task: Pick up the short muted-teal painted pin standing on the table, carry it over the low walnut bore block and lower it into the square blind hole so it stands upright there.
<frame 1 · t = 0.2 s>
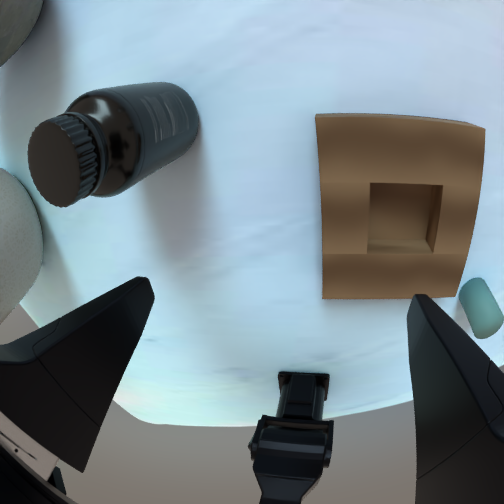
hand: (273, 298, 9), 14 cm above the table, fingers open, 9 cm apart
pin: (472, 291, 22), on the table
supplement bottle: (164, 121, 21), on the table
planter: (19, 214, 32), on the table
bowl: (32, 11, 15), on the table
bore block: (396, 204, 20), on the table
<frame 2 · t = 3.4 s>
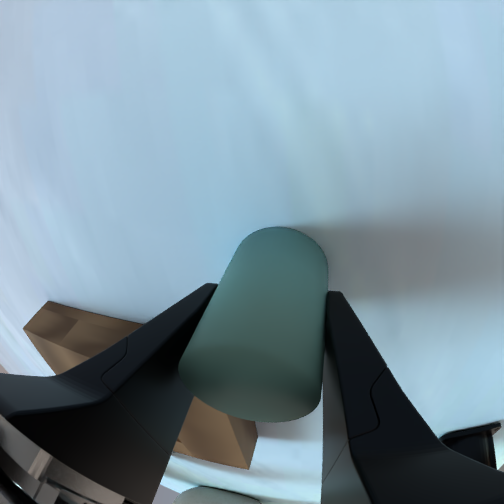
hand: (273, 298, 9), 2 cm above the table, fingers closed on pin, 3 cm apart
pin: (280, 270, 10), on the table, touching gripper
planter: (228, 493, 42), on the table
bore block: (151, 381, 17), on the table
when the fingers open (3 cm above the table, at t = 7.5 s): pin stays where it is, resting on bore block.
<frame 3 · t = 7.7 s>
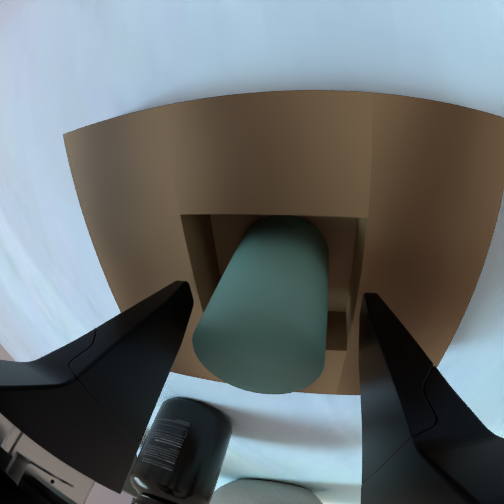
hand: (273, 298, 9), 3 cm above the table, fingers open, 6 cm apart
pin: (284, 254, 11), point 1 cm above the table, touching bore block
supplement bottle: (199, 413, 23), on the table
planter: (273, 485, 36), on the table
bore block: (285, 245, 12), on the table
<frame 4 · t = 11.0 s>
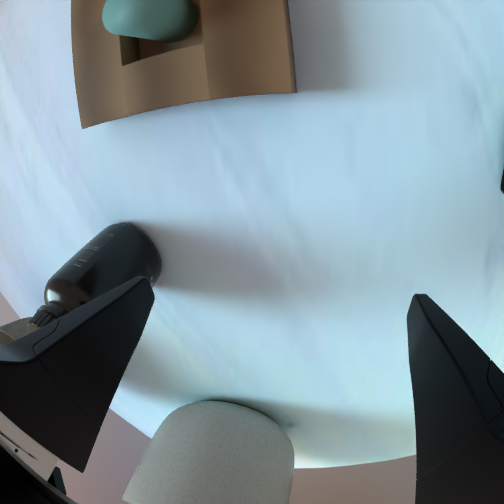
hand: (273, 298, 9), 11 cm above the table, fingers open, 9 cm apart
pin: (174, 19, 13), point 1 cm above the table, touching bore block
supplement bottle: (133, 253, 25), on the table
planter: (235, 418, 38), on the table
bowl: (70, 333, 38), on the table
bore block: (179, 22, 14), on the table
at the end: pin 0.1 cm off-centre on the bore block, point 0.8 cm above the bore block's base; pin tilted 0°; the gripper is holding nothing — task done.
